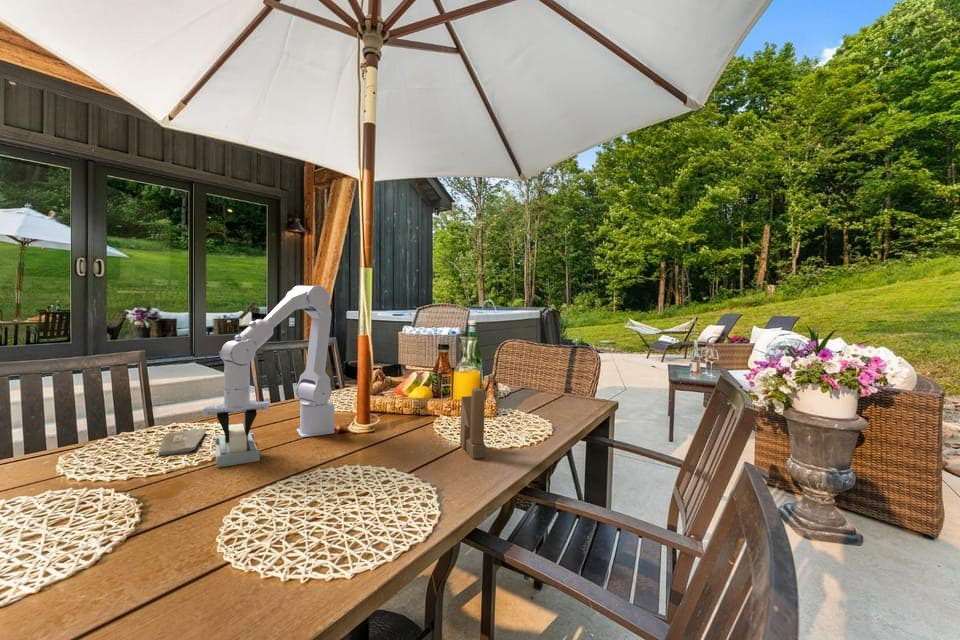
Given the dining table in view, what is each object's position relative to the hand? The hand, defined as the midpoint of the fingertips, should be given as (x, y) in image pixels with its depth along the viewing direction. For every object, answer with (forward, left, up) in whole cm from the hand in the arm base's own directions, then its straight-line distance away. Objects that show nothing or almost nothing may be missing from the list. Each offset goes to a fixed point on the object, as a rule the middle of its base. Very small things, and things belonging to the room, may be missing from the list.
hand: (236, 440), depth 110 cm
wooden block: (-55, +27, -4) cm, 61 cm away
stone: (+12, -15, -4) cm, 19 cm away
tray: (0, 0, -3) cm, 3 cm away
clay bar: (0, 0, -2) cm, 2 cm away
